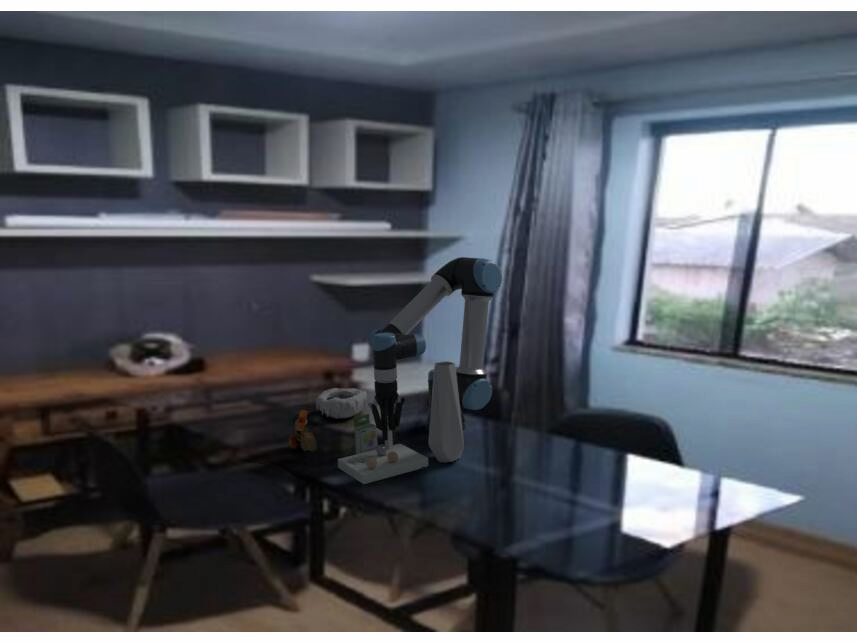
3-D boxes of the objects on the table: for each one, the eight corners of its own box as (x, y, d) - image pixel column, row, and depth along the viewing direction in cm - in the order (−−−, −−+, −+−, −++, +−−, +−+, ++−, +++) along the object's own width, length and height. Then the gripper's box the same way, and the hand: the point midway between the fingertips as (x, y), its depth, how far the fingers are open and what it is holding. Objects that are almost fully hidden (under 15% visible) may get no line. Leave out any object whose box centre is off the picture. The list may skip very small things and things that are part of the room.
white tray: (400, 451, 271) (400, 443, 270) (428, 466, 256) (428, 457, 255) (338, 467, 258) (337, 459, 258) (363, 484, 243) (363, 475, 243)
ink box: (362, 457, 267) (359, 420, 264) (355, 454, 270) (353, 417, 267) (378, 452, 271) (376, 415, 269) (371, 449, 274) (369, 413, 272)
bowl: (365, 423, 304) (364, 398, 302) (313, 425, 305) (311, 400, 303) (370, 407, 325) (368, 384, 323) (321, 409, 325) (319, 386, 323)
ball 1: (374, 465, 250) (373, 455, 250) (379, 468, 248) (378, 458, 247) (364, 467, 249) (363, 457, 248) (369, 471, 246) (369, 460, 245)
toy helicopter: (310, 442, 284) (307, 406, 282) (327, 459, 266) (325, 421, 263) (288, 446, 281) (285, 410, 279) (304, 464, 263) (301, 425, 260)
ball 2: (394, 459, 255) (394, 449, 254) (400, 462, 252) (399, 452, 252) (385, 461, 253) (384, 451, 253) (390, 464, 250) (390, 454, 250)
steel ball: (380, 441, 261) (372, 448, 259) (385, 444, 258) (377, 451, 256) (385, 449, 262) (377, 455, 261) (390, 452, 259) (382, 458, 258)
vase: (455, 468, 253) (451, 369, 247) (425, 462, 259) (420, 366, 253) (473, 456, 263) (470, 361, 257) (443, 451, 269) (440, 358, 263)
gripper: (397, 374, 263) (400, 441, 267) (362, 381, 256) (366, 449, 260) (408, 379, 257) (411, 447, 261) (373, 385, 250) (377, 455, 254)
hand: (389, 448), depth 261 cm, fingers closed
